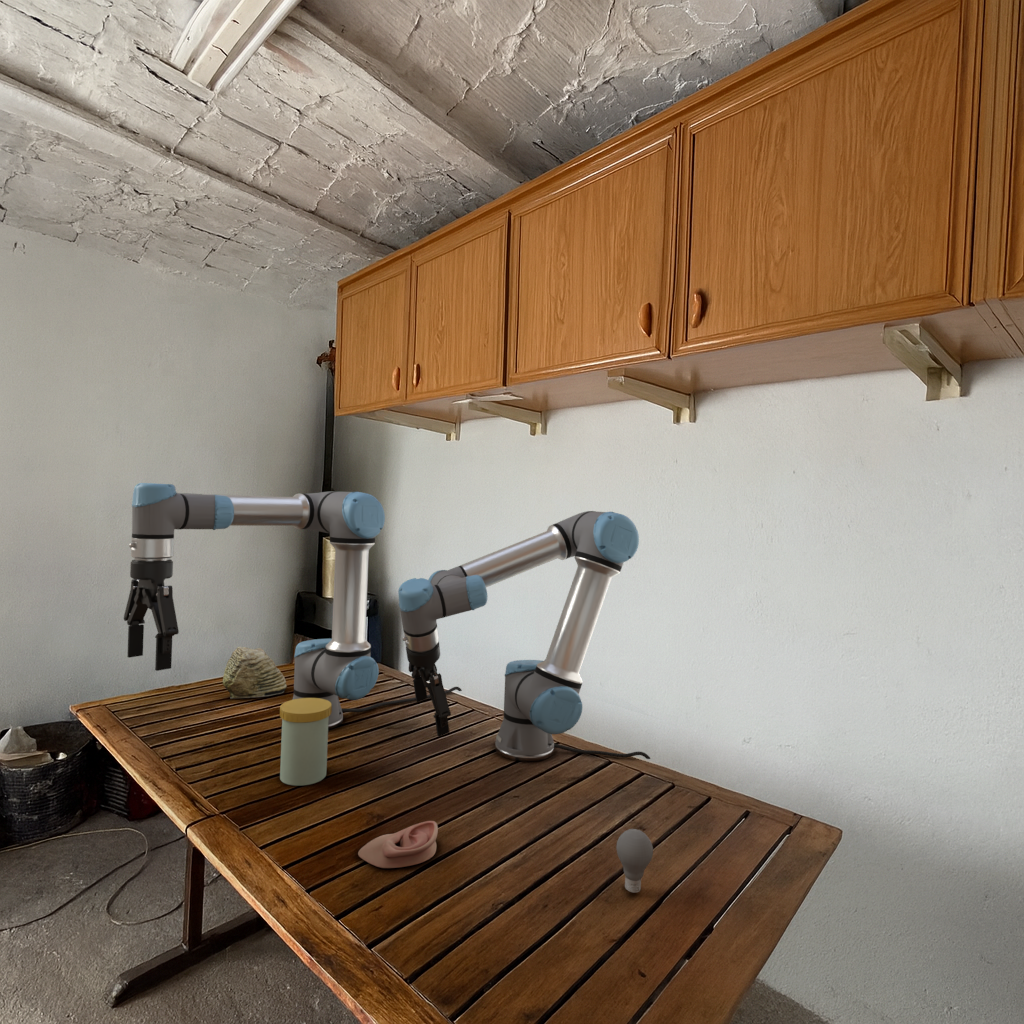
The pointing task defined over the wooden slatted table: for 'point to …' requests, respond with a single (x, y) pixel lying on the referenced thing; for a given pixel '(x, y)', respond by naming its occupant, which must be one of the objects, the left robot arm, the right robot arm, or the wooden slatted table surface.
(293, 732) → the jar
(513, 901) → the wooden slatted table surface
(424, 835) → the anatomical model
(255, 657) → the fossil
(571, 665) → the right robot arm
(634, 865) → the light bulb
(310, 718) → the lid
